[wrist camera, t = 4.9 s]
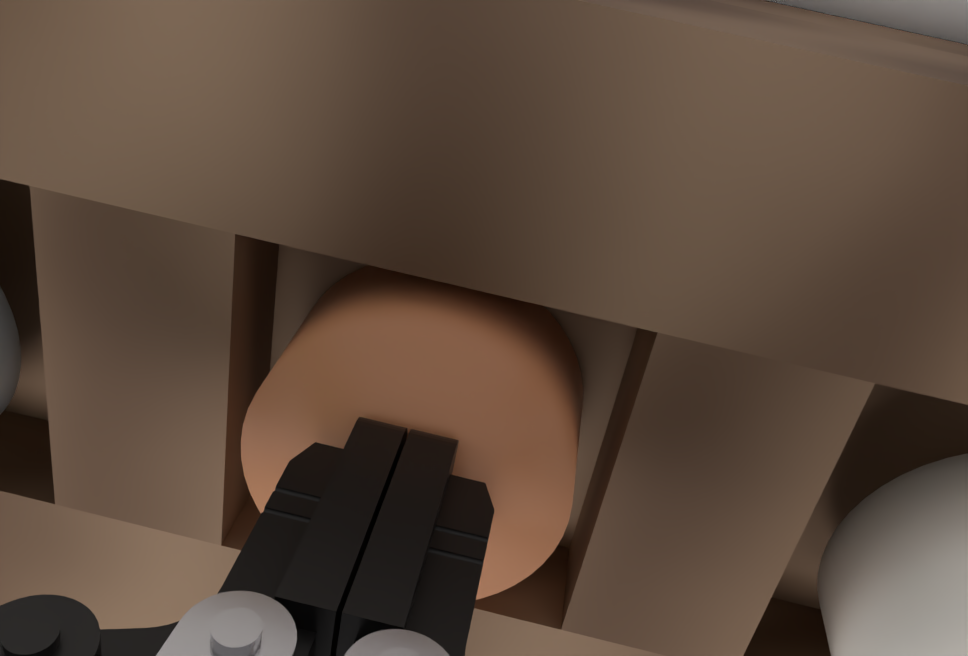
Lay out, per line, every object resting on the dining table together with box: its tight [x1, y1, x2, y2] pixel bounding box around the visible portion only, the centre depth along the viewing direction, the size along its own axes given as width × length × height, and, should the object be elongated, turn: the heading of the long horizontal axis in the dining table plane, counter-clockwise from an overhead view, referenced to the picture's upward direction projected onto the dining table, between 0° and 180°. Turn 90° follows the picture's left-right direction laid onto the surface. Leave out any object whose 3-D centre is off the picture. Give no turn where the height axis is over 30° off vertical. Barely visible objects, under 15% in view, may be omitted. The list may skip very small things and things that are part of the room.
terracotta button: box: [241, 265, 583, 600], centre depth 15 cm, size 5×5×2 cm
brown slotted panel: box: [0, 0, 968, 656], centre depth 15 cm, size 25×14×3 cm, turn 80°
